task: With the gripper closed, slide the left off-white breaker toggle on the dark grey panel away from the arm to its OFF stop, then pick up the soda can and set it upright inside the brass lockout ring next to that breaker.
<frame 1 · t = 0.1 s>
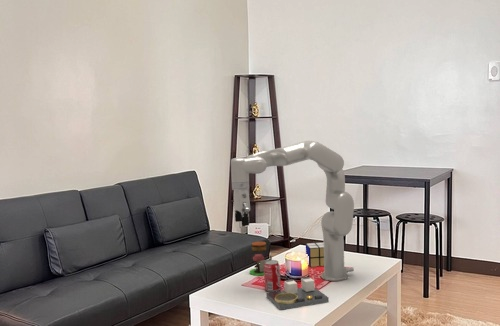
hand: (242, 223, 244), 31 cm above the table, tool pointing down, fingers open, 9 cm apart
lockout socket: (286, 304, 230), resting on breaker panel
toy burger: (260, 273, 273), on the table
breaker 1: (307, 284, 240), point 5 cm above the table, slide at 0.0 cm
soda can: (272, 290, 248), on the table
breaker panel: (296, 299, 234), on the table
breaker 2: (290, 286, 237), point 5 cm above the table, slide at 0.0 cm
puzzle cube: (317, 264, 284), on the table
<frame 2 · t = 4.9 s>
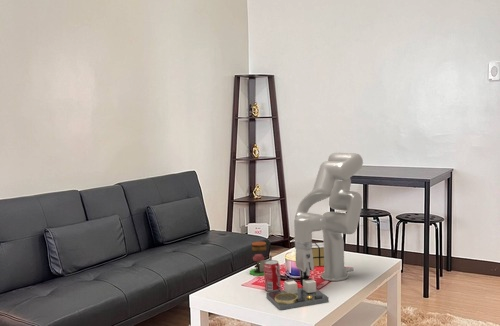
hand: (304, 285, 243), 3 cm above the table, tool pointing down, fingers closed
breaker 1: (309, 285, 238), point 5 cm above the table, slide at 1.8 cm, touching gripper
everything else where it was.
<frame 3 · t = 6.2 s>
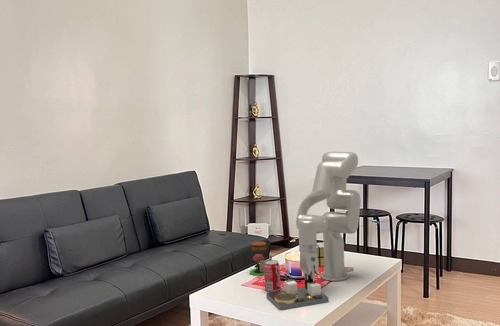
hand: (309, 288, 238), 3 cm above the table, tool pointing down, fingers closed
breaker 1: (314, 288, 234), point 5 cm above the table, slide at 6.5 cm, touching gripper
everything else where it was.
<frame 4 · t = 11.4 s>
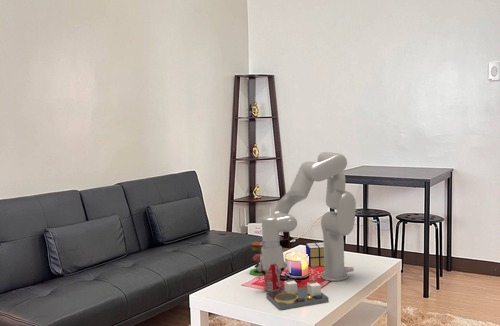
hand: (272, 282, 248), 3 cm above the table, tool pointing down, fingers closed on soda can, 4 cm apart
breaker 1: (314, 288, 234), point 5 cm above the table, slide at 6.5 cm
soda can: (272, 290, 248), on the table, touching gripper
everything else where it was.
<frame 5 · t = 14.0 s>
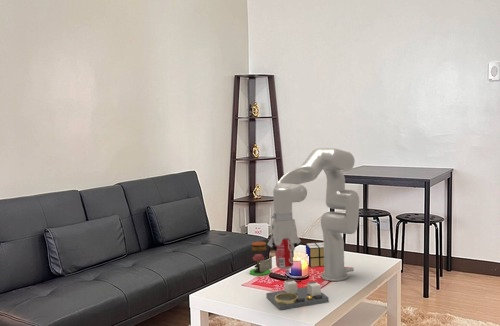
hand: (284, 259, 228), 19 cm above the table, tool pointing down, fingers closed on soda can, 4 cm apart
soda can: (284, 267, 228), point 16 cm above the table, touching gripper
everything else where it was.
when the fingers open (7 cm above the table, at t = 16.6 s): soda can drops 2 cm, resting on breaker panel.
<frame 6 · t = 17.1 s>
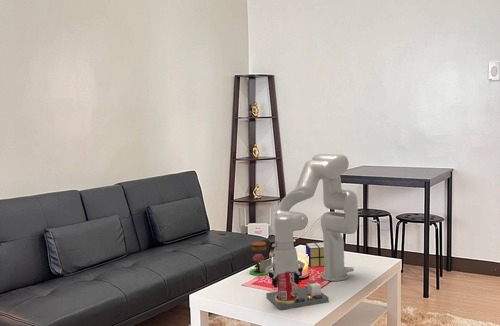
hand: (285, 285, 229), 8 cm above the table, tool pointing down, fingers open, 9 cm apart
soda can: (286, 300, 229), point 2 cm above the table, touching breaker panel
everything else where it was.
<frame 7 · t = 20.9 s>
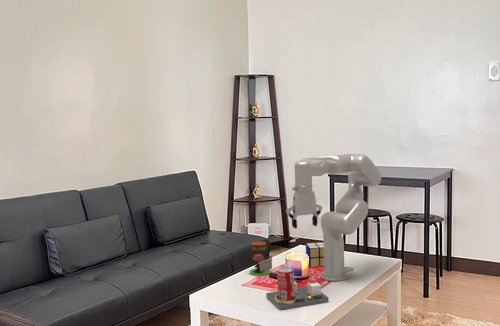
hand: (304, 226, 246), 28 cm above the table, tool pointing down, fingers open, 9 cm apart
nothing on the table moved.
at the end: breaker 1 slide at 6.5 cm; soda can 0.2 cm from the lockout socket (horizontally); soda can tilted 0° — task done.
